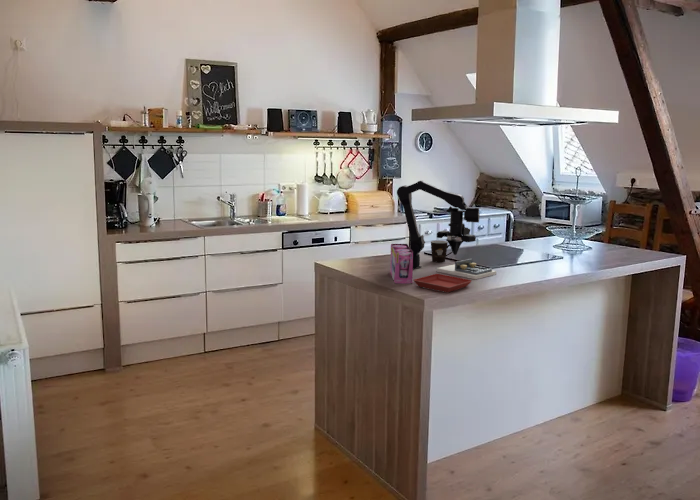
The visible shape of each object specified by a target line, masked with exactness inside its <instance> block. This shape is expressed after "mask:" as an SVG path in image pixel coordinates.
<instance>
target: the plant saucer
mask: <svg viewBox="0 0 700 500" xmlns="http://www.w3.org/2000/svg"><path fill="white" fill-rule="evenodd" d="M472 280H473V279H469V278H468V279H467V278H464V277H456V276H453V275H447V274H443V273H442V274H441V273H434V274H429V275H426V276H423V277H418V278H414V279H412V282H413V283H415V284H416V285H417V286H418V287H419V286H420V287H419V288H422V287H424V288H423V289H427V288H429V289H428V290H432V289H434V290H433V291H437V290H439V292H442V291H444V292H443V293H451V292H455V291H458V290H460V289H461V290H462V289H463V288H466V287H467V286H469V285H470V283H472Z"/></svg>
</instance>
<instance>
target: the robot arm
mask: <svg viewBox="0 0 700 500" xmlns="http://www.w3.org/2000/svg"><path fill="white" fill-rule="evenodd" d="M420 190H421V191H423V192H425V193H427V194H430V195H432V196H435V197H437V198H439V199H441V200H444V201H445V203H447V204H448V205H450V206H449V207H448V209H446V210H445V211H446V212H447V213H450V217H449V218H450V221H449V223H447V224H448V225H447V226H448V227H449V231H448V230H439V231H437V233H436V238H437V239H438V238H439V239H443V238H446V240H445V241H447V242H448V245H450V246H449V247H450V249H451V252H452V251H453V252H452V253H453V255H454V256H456V255H457V254H458V252H459V249H460V247H461V245H462V243H473V242H476V235H475V234H470V233H471V228H469V227H466V225H465V223H463V221H465V222H466V223H480V207H468V205H467V203H466V202H465V197H464V195H462V194H460V193H457V192H452V191H446V190H444V189H442V188H439V187H437V186H434V185H432V184H429V183H427V182H426V181H424V180H418V181H417V182H414V183H413V184H410V185H401V186H399V187H398V188H397V189H396V195H397V198H398V199H399V202H400V203H401V205H402V207H403V211H404V212H403V213H404V215H405V219H406V224H407V229H408V232H409V247H410V249H411V250H412V251H413V270H415V269H420V268H422V266H421V264H420V263H421V261H420V260H421V259H420V258H421V255H420V252H421V251H422V250H424V247H425V244H426V241H425V238H424V237H425V235H424V234H422V235H421V234H420V232H419V229H418V225H417V222H416V221H417V220H416V216H415V213H414V208H413V205H412V203H413V202H412V200H413V197H412V194H413V193H415V192H417V191H420Z"/></svg>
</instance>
